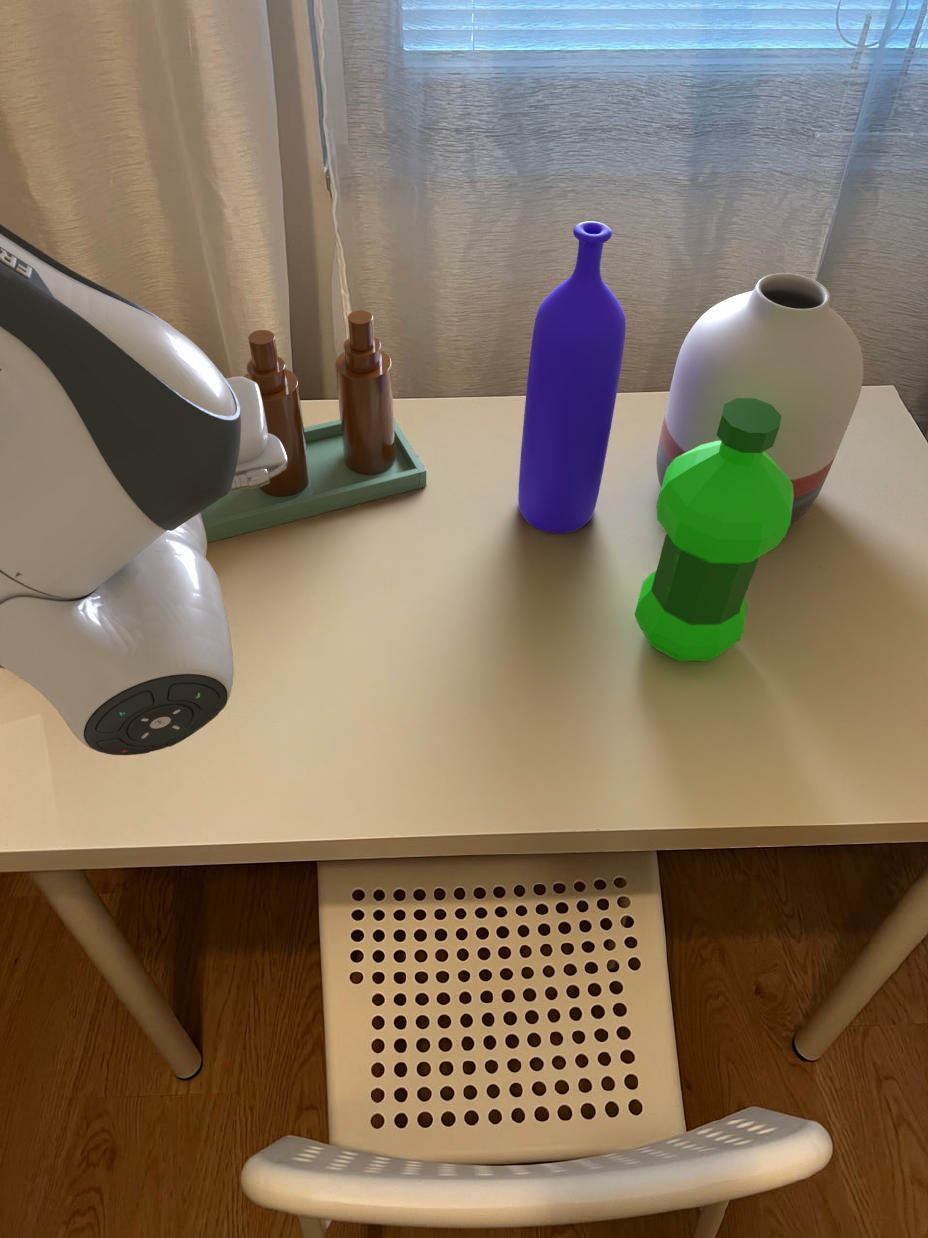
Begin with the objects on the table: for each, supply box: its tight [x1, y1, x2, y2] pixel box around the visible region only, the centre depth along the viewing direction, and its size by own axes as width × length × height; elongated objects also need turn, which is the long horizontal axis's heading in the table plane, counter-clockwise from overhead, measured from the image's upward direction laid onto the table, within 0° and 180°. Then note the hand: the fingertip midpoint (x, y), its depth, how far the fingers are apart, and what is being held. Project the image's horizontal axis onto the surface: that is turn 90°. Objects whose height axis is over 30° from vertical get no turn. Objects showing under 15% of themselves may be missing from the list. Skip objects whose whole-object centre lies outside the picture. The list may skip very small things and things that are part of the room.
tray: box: [200, 417, 427, 544], centre depth 98 cm, size 32×12×2 cm, turn 113°
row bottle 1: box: [243, 329, 310, 497], centre depth 92 cm, size 6×6×17 cm
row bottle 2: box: [334, 309, 395, 475], centre depth 95 cm, size 6×6×17 cm
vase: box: [655, 272, 864, 527], centre depth 90 cm, size 17×17×24 cm
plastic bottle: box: [634, 398, 794, 662], centre depth 77 cm, size 10×10×25 cm
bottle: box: [517, 220, 627, 534], centre depth 86 cm, size 8×8×30 cm
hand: (96, 381), depth 64 cm, fingers open, 8 cm apart
